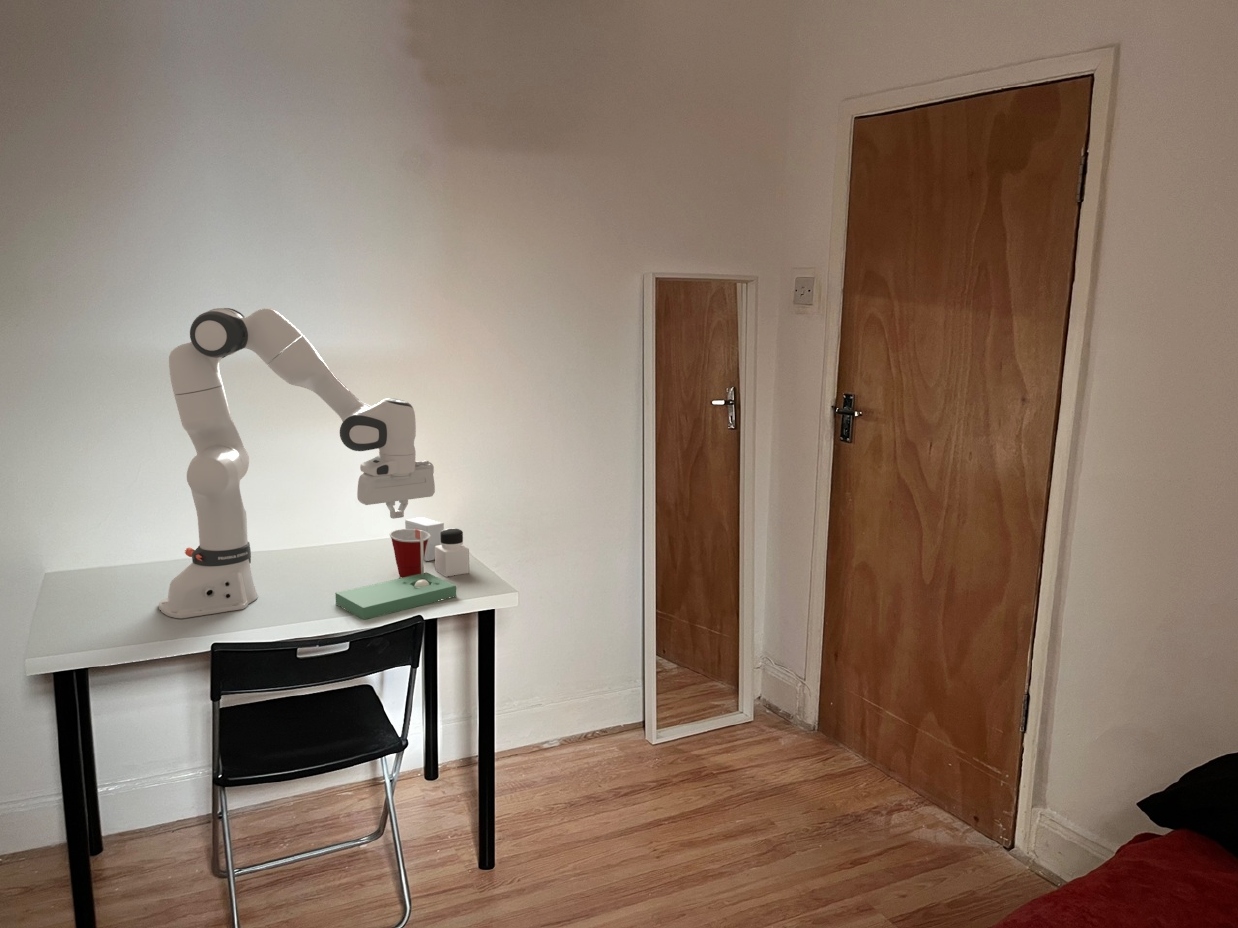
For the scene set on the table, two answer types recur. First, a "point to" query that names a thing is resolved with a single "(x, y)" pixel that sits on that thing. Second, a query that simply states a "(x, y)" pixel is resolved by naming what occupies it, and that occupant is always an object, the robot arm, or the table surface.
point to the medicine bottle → (451, 553)
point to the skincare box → (429, 527)
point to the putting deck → (395, 593)
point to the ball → (421, 583)
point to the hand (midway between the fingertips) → (396, 517)
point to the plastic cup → (408, 551)
